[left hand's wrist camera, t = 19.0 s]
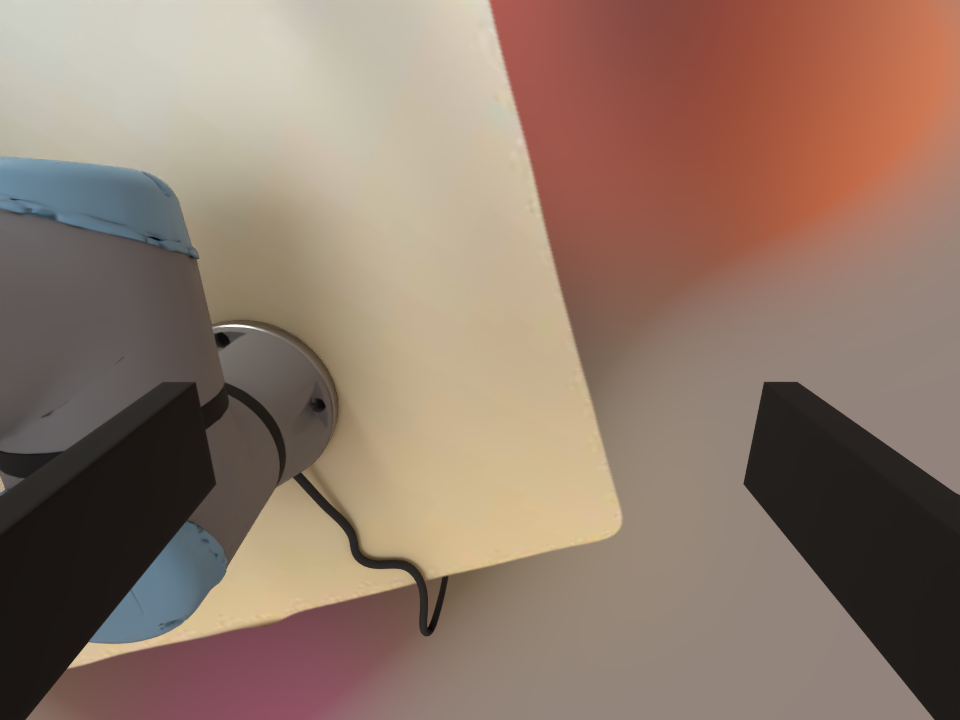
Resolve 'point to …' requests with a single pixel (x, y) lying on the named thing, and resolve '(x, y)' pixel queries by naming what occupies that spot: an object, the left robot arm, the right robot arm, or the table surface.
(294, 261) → the table surface
